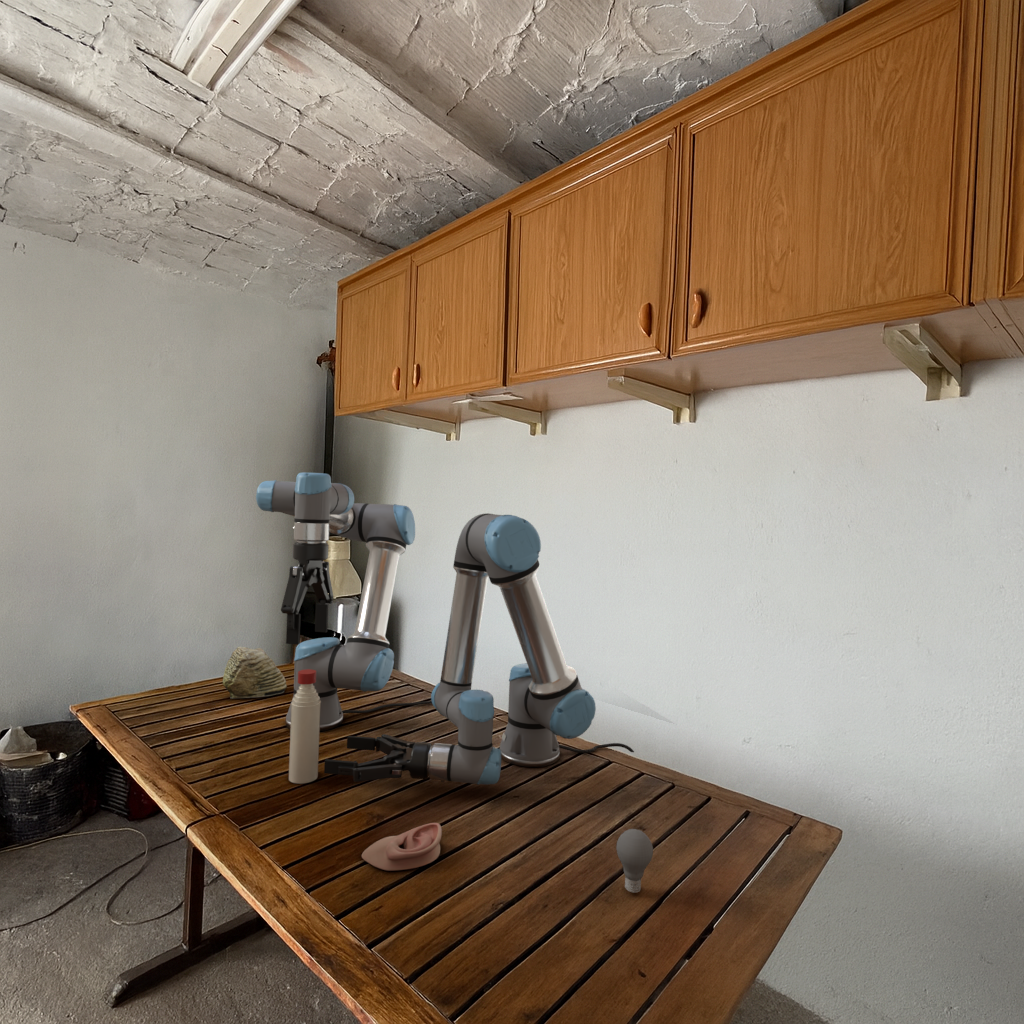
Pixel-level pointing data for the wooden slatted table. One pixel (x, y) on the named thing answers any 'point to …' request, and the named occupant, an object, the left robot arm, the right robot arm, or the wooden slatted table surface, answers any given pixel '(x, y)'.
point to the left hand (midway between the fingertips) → (307, 637)
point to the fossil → (252, 674)
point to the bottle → (304, 735)
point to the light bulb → (634, 857)
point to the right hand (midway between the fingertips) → (336, 753)
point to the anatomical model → (406, 849)
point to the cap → (307, 676)
